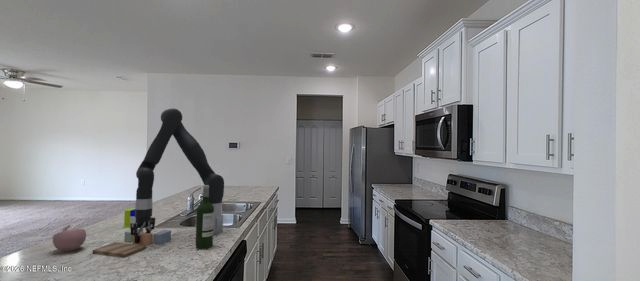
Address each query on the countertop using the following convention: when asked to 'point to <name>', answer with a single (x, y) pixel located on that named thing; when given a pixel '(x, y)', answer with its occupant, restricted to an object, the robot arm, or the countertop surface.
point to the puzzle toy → (129, 217)
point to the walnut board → (119, 249)
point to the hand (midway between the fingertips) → (142, 241)
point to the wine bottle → (204, 222)
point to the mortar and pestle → (69, 239)
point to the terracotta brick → (144, 239)
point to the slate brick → (161, 237)
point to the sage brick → (129, 236)
